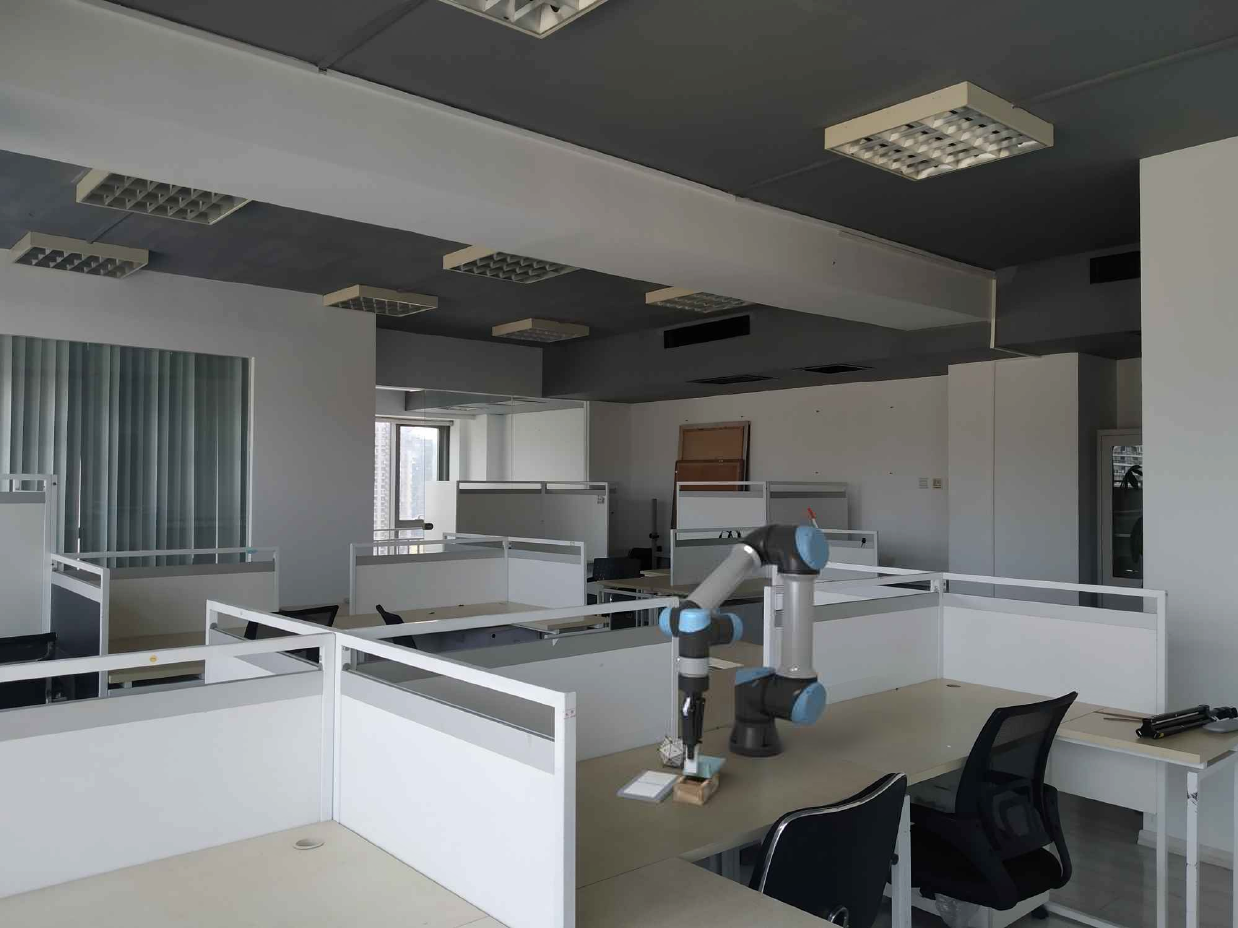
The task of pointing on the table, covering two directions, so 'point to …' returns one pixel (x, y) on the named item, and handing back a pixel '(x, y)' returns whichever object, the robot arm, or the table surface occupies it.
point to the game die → (672, 752)
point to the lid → (706, 766)
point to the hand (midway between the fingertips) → (691, 771)
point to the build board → (649, 786)
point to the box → (695, 788)
